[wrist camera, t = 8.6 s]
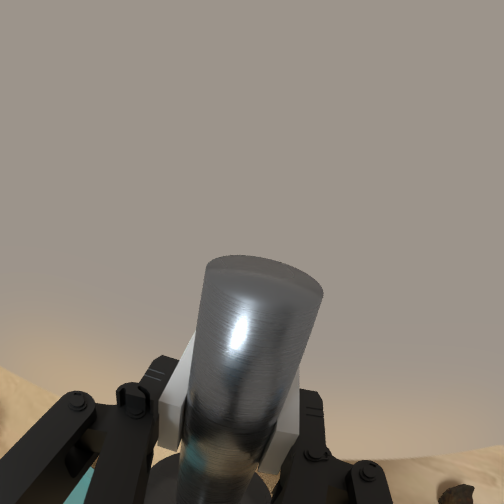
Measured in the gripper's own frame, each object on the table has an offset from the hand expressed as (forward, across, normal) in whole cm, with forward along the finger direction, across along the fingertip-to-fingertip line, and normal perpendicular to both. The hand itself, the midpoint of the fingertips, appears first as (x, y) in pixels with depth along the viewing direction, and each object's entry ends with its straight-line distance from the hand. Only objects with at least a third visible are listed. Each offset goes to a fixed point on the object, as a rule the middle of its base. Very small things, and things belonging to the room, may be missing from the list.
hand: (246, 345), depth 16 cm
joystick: (-5, 0, -8) cm, 10 cm away
